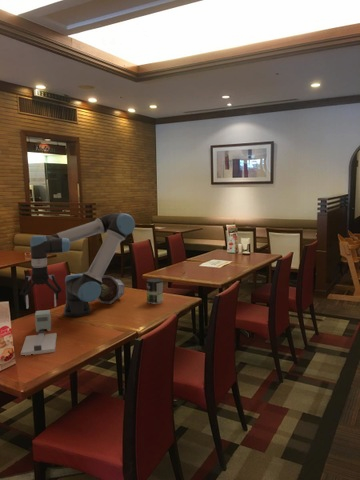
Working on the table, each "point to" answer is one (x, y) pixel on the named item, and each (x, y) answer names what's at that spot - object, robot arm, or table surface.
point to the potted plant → (110, 289)
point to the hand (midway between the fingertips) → (41, 307)
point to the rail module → (43, 320)
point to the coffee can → (155, 290)
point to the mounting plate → (39, 343)
